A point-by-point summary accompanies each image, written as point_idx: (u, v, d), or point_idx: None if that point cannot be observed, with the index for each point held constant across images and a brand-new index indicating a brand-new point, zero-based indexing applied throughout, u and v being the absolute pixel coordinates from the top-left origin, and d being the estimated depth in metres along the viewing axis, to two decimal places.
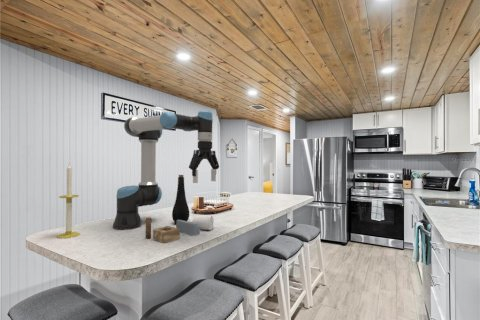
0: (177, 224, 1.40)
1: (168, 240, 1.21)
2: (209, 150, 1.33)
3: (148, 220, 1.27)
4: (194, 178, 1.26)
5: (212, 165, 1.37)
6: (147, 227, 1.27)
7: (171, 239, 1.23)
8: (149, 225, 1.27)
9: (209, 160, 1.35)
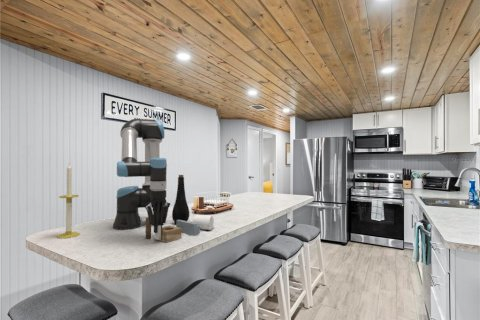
0: (177, 224, 1.40)
1: (170, 239, 1.23)
2: (164, 198, 1.24)
3: (148, 220, 1.27)
4: (156, 234, 1.21)
5: (159, 219, 1.22)
6: (147, 227, 1.27)
7: (173, 238, 1.24)
8: (149, 225, 1.27)
9: (159, 211, 1.23)
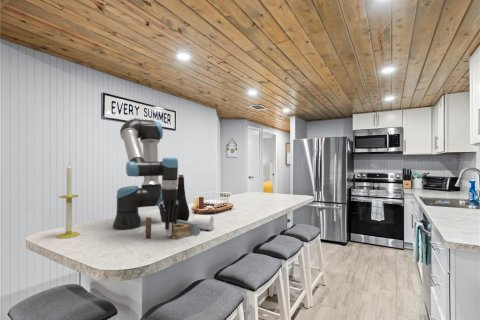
0: None
1: (181, 236, 1.28)
2: (175, 197, 1.29)
3: (148, 220, 1.27)
4: (167, 231, 1.27)
5: (170, 216, 1.28)
6: (147, 227, 1.27)
7: (183, 235, 1.29)
8: (149, 225, 1.27)
9: (170, 209, 1.28)
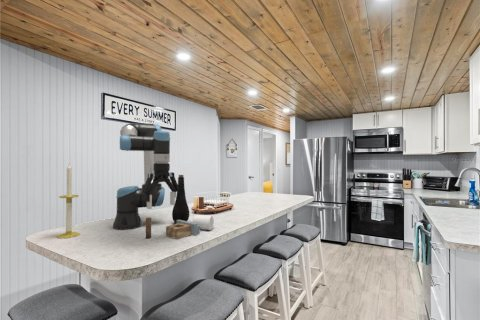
0: None
1: (181, 236, 1.28)
2: (166, 172, 1.25)
3: (148, 220, 1.27)
4: (148, 204, 1.18)
5: (171, 188, 1.28)
6: (147, 227, 1.27)
7: (183, 235, 1.29)
8: (149, 225, 1.27)
9: (167, 183, 1.27)
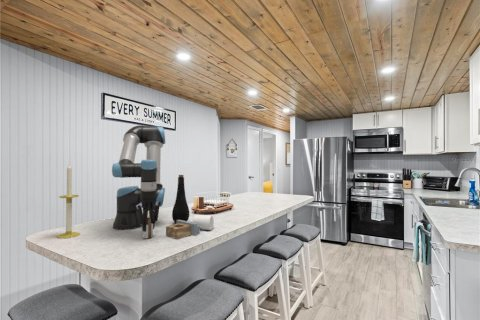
0: None
1: (181, 236, 1.28)
2: (154, 198, 1.30)
3: (148, 220, 1.27)
4: (144, 233, 1.27)
5: (151, 217, 1.29)
6: None
7: (183, 235, 1.29)
8: (149, 225, 1.27)
9: (150, 211, 1.29)
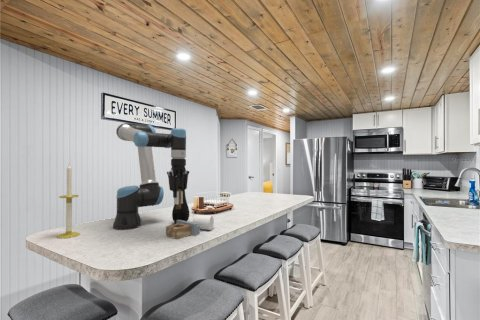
0: None
1: (181, 236, 1.28)
2: (184, 167, 1.34)
3: (178, 191, 1.31)
4: (175, 199, 1.31)
5: (180, 185, 1.33)
6: None
7: (183, 235, 1.29)
8: (179, 196, 1.31)
9: (180, 178, 1.33)
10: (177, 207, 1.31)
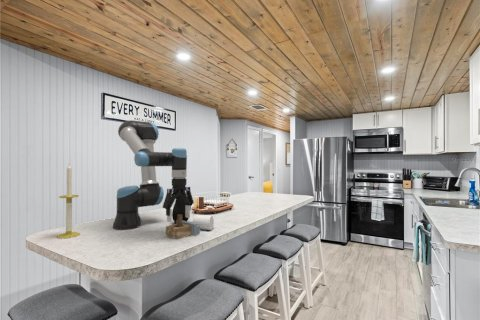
0: None
1: (181, 236, 1.28)
2: (183, 186, 1.34)
3: (180, 217, 1.32)
4: (168, 217, 1.27)
5: (186, 201, 1.37)
6: (179, 223, 1.31)
7: (183, 235, 1.29)
8: (180, 222, 1.32)
9: (183, 196, 1.35)
10: None
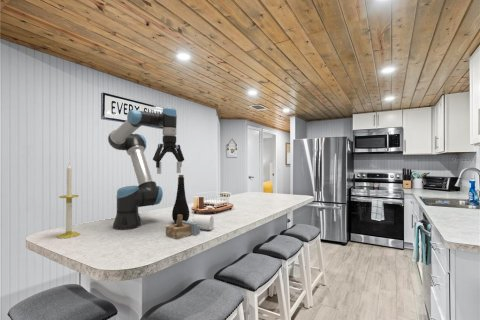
0: None
1: (181, 236, 1.28)
2: (173, 144, 1.44)
3: (180, 217, 1.31)
4: (158, 169, 1.38)
5: (177, 158, 1.48)
6: (179, 223, 1.31)
7: (183, 235, 1.29)
8: (181, 222, 1.32)
9: (174, 153, 1.46)
10: None
